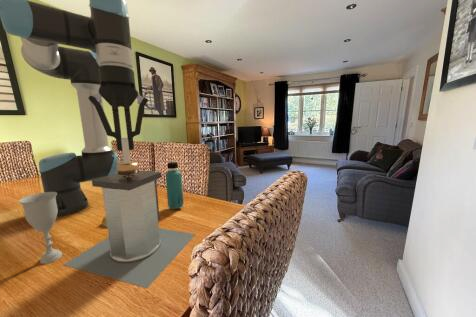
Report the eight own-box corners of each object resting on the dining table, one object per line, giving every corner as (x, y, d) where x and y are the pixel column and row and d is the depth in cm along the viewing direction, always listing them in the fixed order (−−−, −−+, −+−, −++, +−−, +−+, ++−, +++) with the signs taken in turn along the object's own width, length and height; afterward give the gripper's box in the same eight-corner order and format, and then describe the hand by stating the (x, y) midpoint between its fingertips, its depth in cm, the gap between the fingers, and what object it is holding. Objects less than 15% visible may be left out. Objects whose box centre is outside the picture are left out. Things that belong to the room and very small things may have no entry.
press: (98, 258, 54) (86, 181, 50) (142, 227, 69) (136, 166, 65) (138, 267, 50) (128, 185, 46) (175, 233, 65) (170, 169, 61)
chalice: (49, 251, 58) (37, 192, 54) (74, 250, 58) (64, 191, 55) (25, 270, 50) (9, 203, 47) (54, 268, 51) (40, 202, 48)
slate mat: (63, 266, 52) (63, 264, 52) (131, 224, 72) (130, 223, 72) (147, 290, 44) (147, 288, 44) (195, 235, 65) (195, 234, 65)
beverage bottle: (179, 212, 81) (176, 164, 78) (164, 211, 83) (160, 163, 79) (186, 206, 88) (184, 161, 84) (172, 205, 89) (169, 160, 85)
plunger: (109, 247, 55) (97, 166, 50) (135, 230, 63) (127, 159, 59) (137, 253, 52) (127, 168, 48) (160, 234, 61) (153, 160, 57)
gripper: (79, 60, 43) (95, 168, 47) (146, 67, 49) (155, 162, 53) (86, 68, 49) (99, 162, 54) (144, 73, 55) (152, 158, 60)
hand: (127, 162), depth 53 cm, fingers closed
